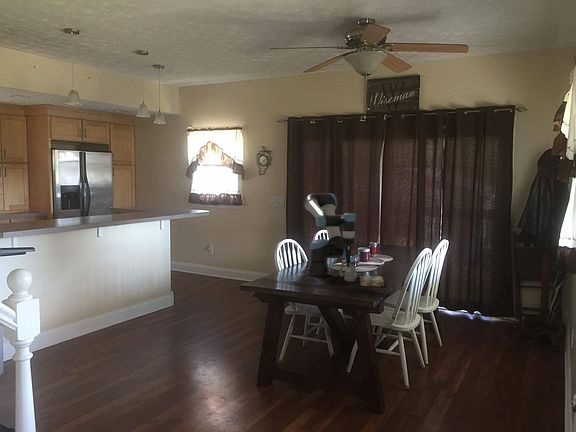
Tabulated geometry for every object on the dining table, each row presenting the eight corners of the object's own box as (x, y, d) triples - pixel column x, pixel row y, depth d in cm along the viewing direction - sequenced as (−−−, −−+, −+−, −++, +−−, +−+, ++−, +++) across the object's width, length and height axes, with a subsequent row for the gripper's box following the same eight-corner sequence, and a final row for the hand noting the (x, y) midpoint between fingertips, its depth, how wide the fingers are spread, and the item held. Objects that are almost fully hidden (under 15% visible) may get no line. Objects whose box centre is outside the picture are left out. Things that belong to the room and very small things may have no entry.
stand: (360, 285, 295) (360, 280, 295) (359, 280, 309) (359, 275, 308) (383, 286, 294) (383, 281, 293) (381, 281, 307) (381, 275, 307)
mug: (352, 282, 303) (352, 263, 302) (336, 279, 310) (336, 261, 309) (358, 280, 309) (358, 261, 308) (342, 277, 316) (342, 259, 315)
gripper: (355, 240, 294) (354, 274, 296) (353, 235, 319) (352, 266, 320) (343, 239, 295) (342, 273, 296) (342, 234, 319) (341, 266, 321)
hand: (347, 270), depth 308 cm, fingers open, 13 cm apart
